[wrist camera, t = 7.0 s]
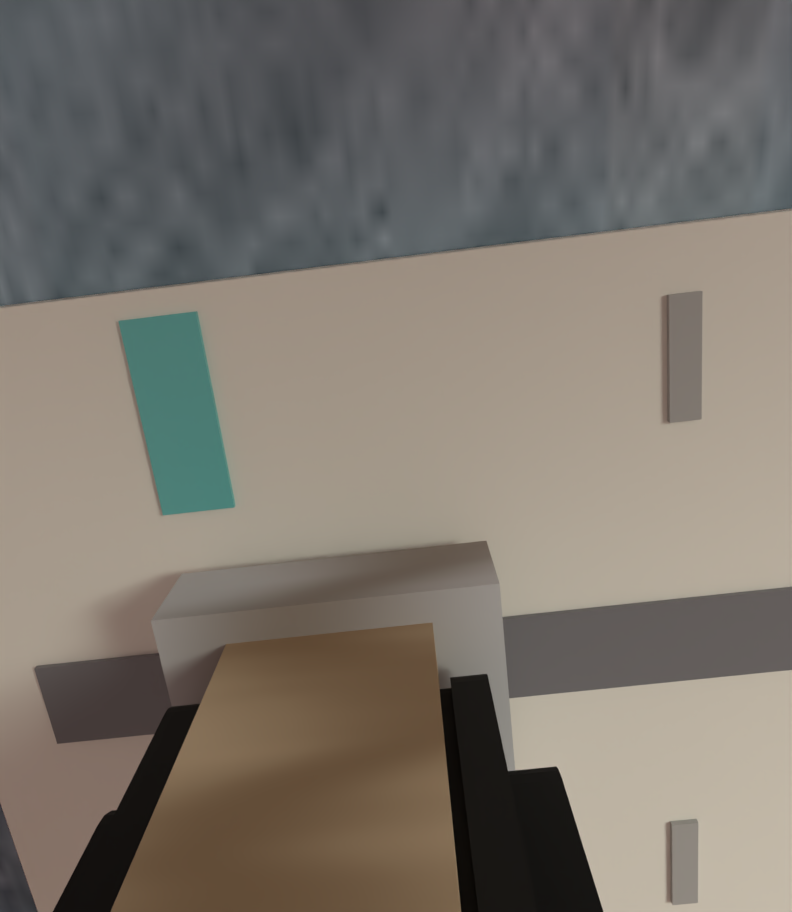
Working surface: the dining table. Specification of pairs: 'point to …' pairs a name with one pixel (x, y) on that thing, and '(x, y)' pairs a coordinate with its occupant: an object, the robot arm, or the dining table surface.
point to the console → (434, 517)
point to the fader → (318, 733)
